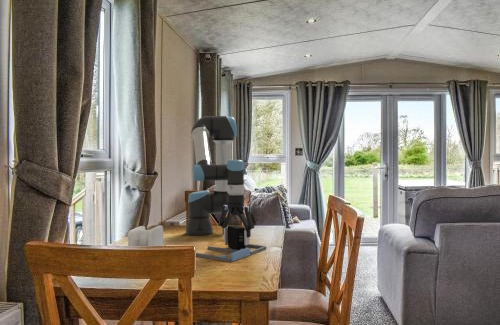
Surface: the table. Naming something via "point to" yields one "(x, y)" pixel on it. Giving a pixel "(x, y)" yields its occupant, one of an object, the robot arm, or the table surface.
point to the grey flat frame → (233, 252)
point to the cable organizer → (145, 236)
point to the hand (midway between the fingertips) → (236, 243)
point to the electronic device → (236, 237)
